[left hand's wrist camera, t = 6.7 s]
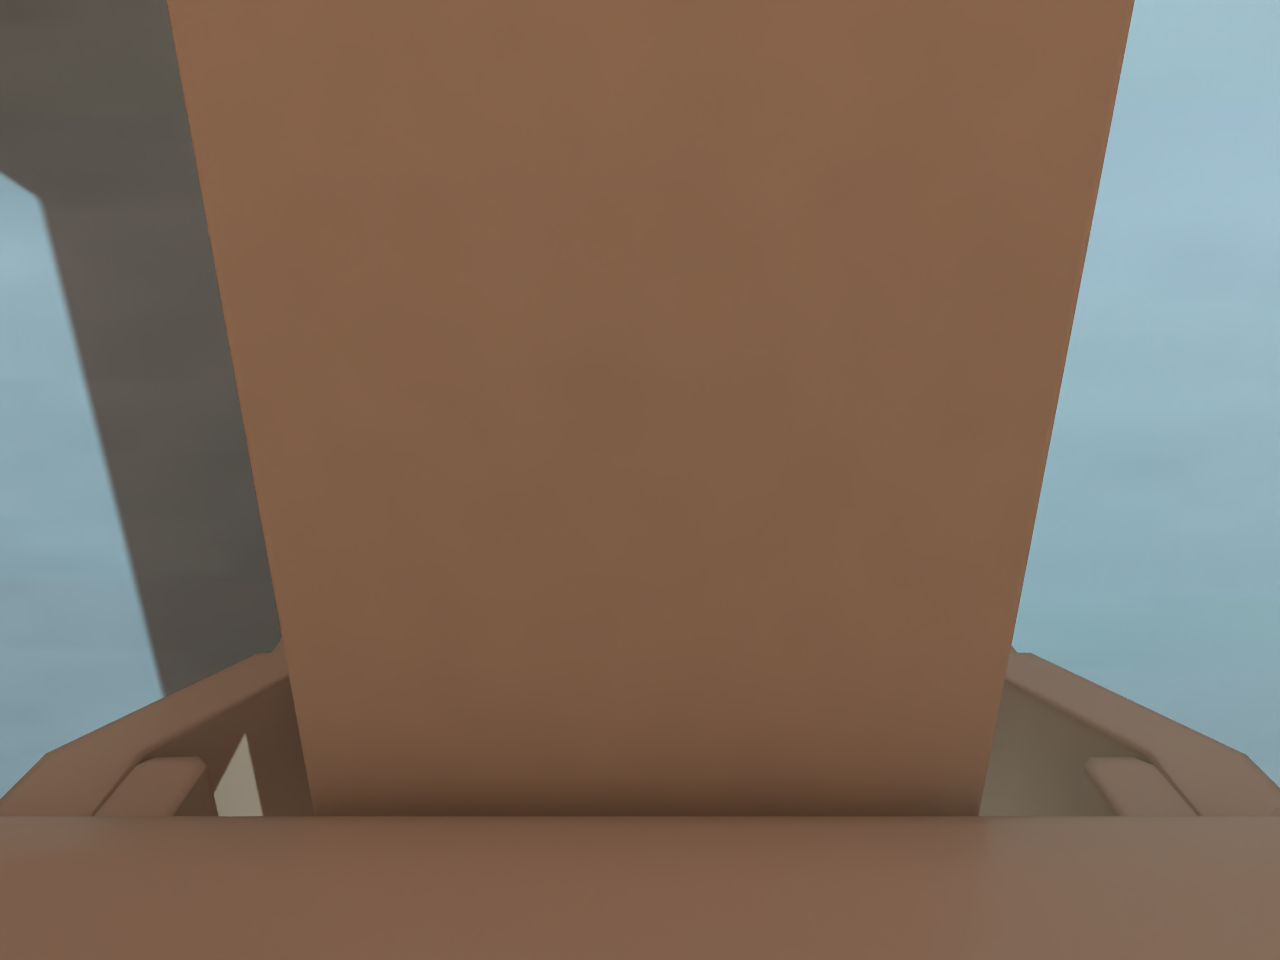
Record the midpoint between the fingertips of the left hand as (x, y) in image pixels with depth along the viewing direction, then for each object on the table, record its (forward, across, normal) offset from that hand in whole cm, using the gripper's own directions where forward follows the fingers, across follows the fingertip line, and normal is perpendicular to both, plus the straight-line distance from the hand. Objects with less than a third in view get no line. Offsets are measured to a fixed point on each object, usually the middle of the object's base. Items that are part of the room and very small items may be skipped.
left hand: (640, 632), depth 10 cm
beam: (+3, 0, +25) cm, 26 cm away
